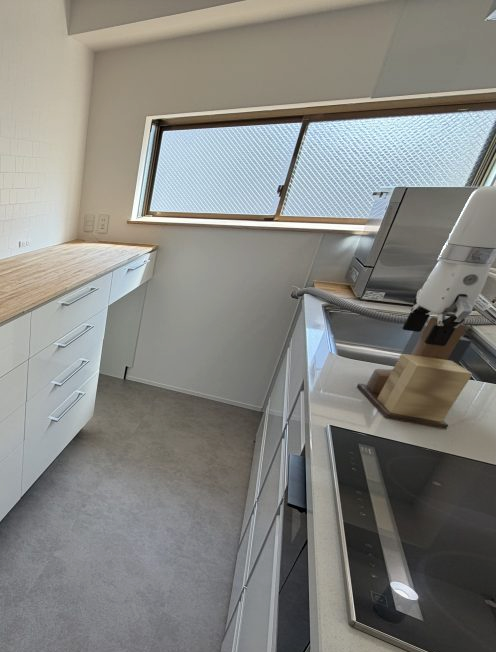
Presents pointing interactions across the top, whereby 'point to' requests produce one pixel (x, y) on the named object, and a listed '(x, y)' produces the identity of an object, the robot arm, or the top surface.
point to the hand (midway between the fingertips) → (422, 337)
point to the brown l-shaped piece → (420, 354)
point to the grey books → (454, 356)
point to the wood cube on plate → (419, 390)
